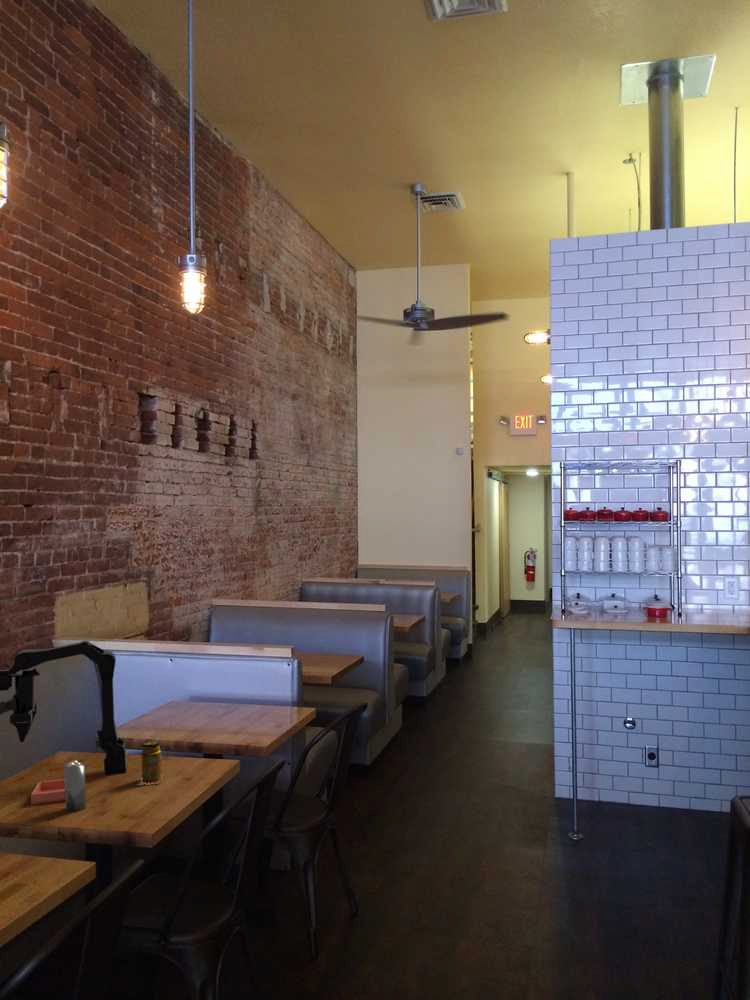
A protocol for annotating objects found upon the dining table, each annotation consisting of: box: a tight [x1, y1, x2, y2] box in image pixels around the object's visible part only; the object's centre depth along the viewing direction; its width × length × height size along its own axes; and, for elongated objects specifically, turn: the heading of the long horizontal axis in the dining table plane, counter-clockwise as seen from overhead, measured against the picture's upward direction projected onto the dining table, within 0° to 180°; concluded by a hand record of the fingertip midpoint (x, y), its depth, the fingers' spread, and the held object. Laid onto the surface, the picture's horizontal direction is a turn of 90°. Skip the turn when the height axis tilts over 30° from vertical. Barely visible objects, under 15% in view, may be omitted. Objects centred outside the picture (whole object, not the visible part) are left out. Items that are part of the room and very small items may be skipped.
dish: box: [30, 778, 66, 806], centre depth 240 cm, size 12×12×3 cm
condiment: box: [136, 740, 163, 786], centre depth 250 cm, size 7×8×12 cm
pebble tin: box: [63, 759, 87, 813], centre depth 229 cm, size 6×6×14 cm
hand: (24, 738), depth 253 cm, fingers open, 9 cm apart
